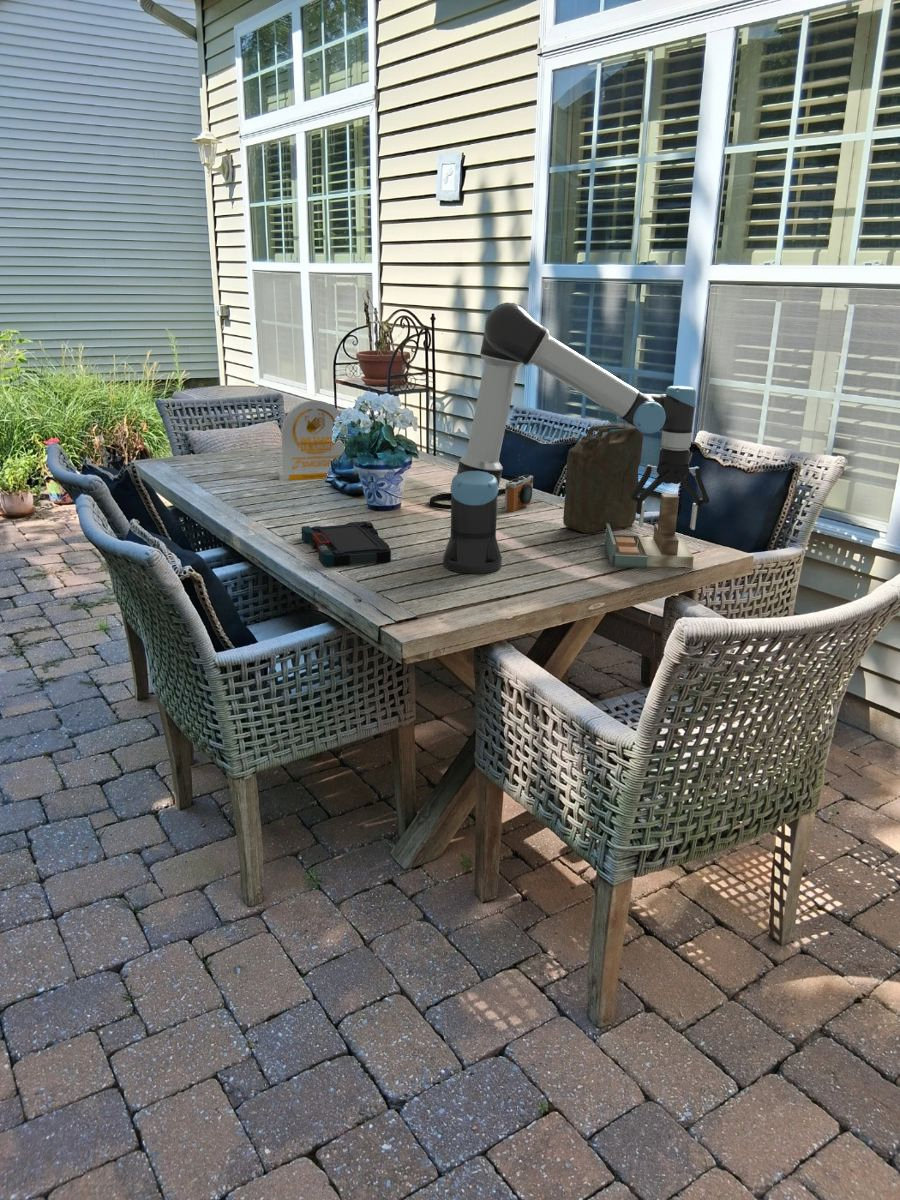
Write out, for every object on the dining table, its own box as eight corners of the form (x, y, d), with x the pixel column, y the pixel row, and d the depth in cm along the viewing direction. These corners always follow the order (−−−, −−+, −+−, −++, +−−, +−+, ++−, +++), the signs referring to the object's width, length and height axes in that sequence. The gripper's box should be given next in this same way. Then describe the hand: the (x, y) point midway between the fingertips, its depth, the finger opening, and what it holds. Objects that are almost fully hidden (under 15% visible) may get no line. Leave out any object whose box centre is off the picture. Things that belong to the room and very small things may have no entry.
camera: (507, 520, 275) (508, 488, 272) (421, 507, 288) (422, 477, 285) (543, 500, 301) (544, 471, 297) (463, 490, 313) (463, 462, 310)
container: (615, 518, 278) (624, 422, 268) (638, 526, 270) (647, 426, 260) (559, 527, 267) (565, 427, 257) (581, 535, 259) (589, 432, 249)
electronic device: (324, 570, 225) (324, 551, 224) (299, 537, 253) (298, 520, 251) (399, 563, 232) (399, 544, 230) (366, 532, 260) (366, 516, 258)
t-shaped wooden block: (661, 554, 231) (667, 502, 227) (653, 538, 246) (658, 488, 242) (677, 555, 231) (682, 502, 226) (667, 538, 246) (673, 489, 241)
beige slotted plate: (645, 566, 232) (646, 555, 231) (637, 546, 249) (638, 536, 248) (692, 568, 231) (693, 557, 230) (681, 548, 248) (682, 538, 247)
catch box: (611, 566, 231) (613, 544, 229) (604, 544, 251) (606, 523, 249) (646, 567, 230) (648, 545, 228) (636, 545, 250) (638, 524, 248)
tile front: (619, 560, 234) (620, 551, 233) (617, 555, 238) (618, 546, 238) (638, 561, 233) (639, 552, 233) (636, 556, 238) (637, 547, 237)
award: (280, 480, 321) (276, 403, 312) (277, 475, 329) (273, 400, 319) (356, 477, 329) (355, 401, 320) (351, 472, 337) (350, 398, 328)
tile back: (616, 550, 242) (616, 541, 242) (614, 545, 247) (615, 536, 246) (634, 551, 242) (635, 542, 241) (632, 546, 247) (633, 537, 246)
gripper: (721, 447, 232) (711, 525, 240) (625, 443, 234) (617, 521, 241) (727, 452, 225) (716, 533, 233) (628, 448, 227) (620, 528, 234)
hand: (666, 527), depth 237 cm, fingers open, 13 cm apart
